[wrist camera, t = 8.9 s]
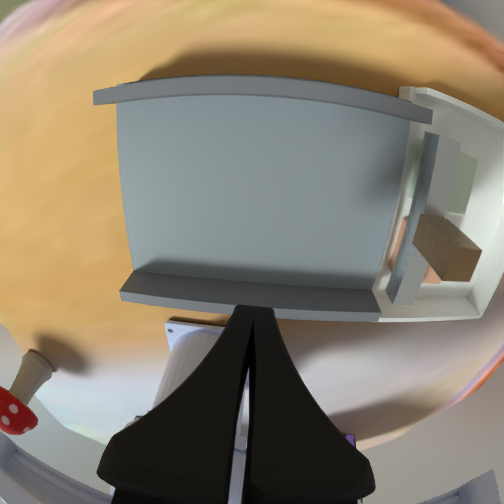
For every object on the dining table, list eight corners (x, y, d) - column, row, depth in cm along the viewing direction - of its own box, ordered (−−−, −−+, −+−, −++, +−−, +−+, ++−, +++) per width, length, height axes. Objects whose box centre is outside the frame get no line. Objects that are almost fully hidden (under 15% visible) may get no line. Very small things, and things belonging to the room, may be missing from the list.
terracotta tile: (429, 269, 19) (439, 284, 17) (388, 266, 19) (397, 282, 17) (444, 224, 17) (458, 236, 15) (402, 217, 17) (414, 229, 16)
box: (466, 298, 21) (480, 318, 18) (357, 296, 21) (366, 322, 19) (516, 136, 13) (539, 145, 10) (399, 86, 13) (421, 85, 11)
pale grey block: (406, 291, 18) (435, 345, 13) (382, 290, 18) (408, 347, 13) (448, 138, 12) (507, 160, 8) (422, 130, 12) (480, 148, 8)
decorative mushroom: (42, 346, 30) (-4, 422, 17) (71, 383, 34) (37, 455, 21) (11, 339, 31) (-30, 402, 18) (38, 373, 35) (5, 434, 22)
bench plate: (360, 286, 21) (376, 326, 17) (146, 269, 21) (123, 305, 17) (398, 101, 14) (433, 102, 10) (131, 85, 14) (93, 84, 11)
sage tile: (450, 204, 16) (464, 215, 15) (407, 196, 16) (420, 206, 15) (461, 152, 14) (477, 159, 13) (418, 139, 14) (433, 143, 13)
